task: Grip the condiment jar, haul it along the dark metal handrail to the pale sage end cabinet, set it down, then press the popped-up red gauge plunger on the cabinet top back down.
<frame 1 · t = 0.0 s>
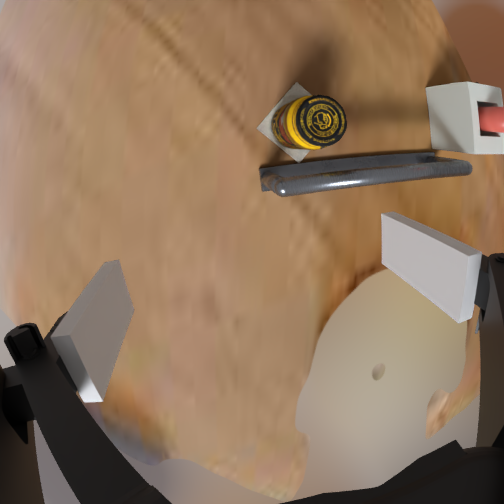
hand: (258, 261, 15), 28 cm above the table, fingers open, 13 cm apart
handrail: (357, 167, 43), on the table
cabinet: (446, 118, 42), on the table
condiment: (297, 122, 40), on the table
plunger: (491, 119, 32), point 10 cm above the table, slide at 0.0 cm
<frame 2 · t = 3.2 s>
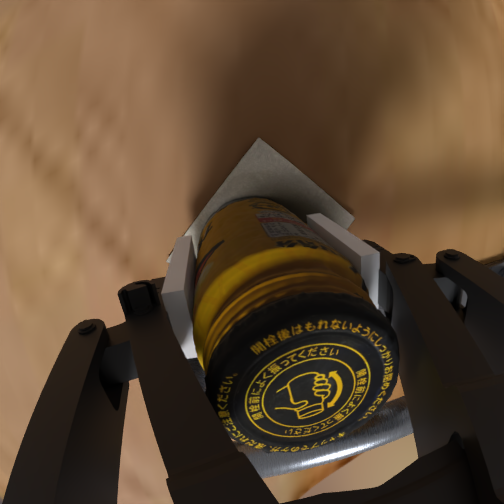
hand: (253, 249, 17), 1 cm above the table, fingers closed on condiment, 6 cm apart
handrail: (378, 314, 21), on the table
condiment: (261, 236, 19), on the table, touching gripper
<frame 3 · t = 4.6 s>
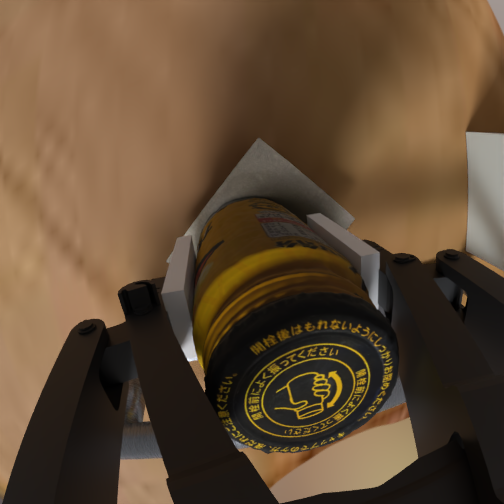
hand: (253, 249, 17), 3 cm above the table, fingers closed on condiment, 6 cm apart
handrail: (319, 312, 23), on the table
cabinet: (496, 189, 22), on the table
condiment: (261, 236, 19), point 2 cm above the table, touching gripper
when the fingers open (2 cm above the table, at t = 6.4 s): condiment stays where it is, on the table.
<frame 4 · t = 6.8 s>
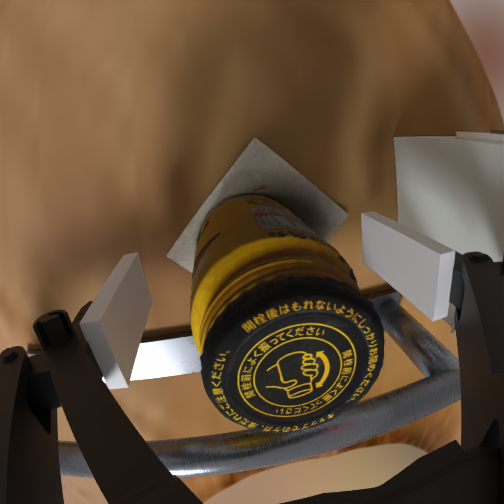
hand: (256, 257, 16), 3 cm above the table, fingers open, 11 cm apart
handrail: (204, 348, 21), on the table
cabinet: (441, 206, 20), on the table
condiment: (258, 232, 19), on the table
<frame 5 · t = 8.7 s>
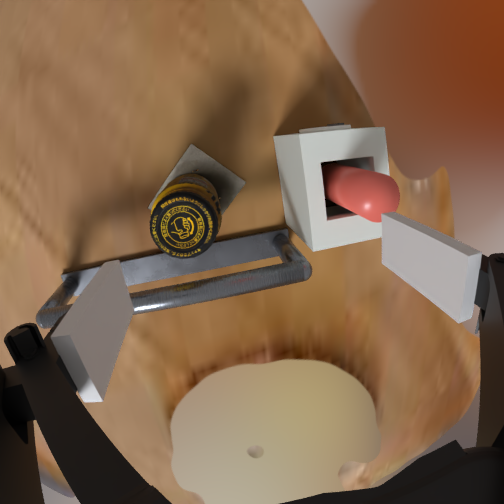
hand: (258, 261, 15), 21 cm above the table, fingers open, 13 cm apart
handrail: (169, 263, 37), on the table
cabinet: (313, 175, 36), on the table
condiment: (196, 194, 35), on the table
plunger: (353, 188, 26), point 11 cm above the table, slide at 0.0 cm
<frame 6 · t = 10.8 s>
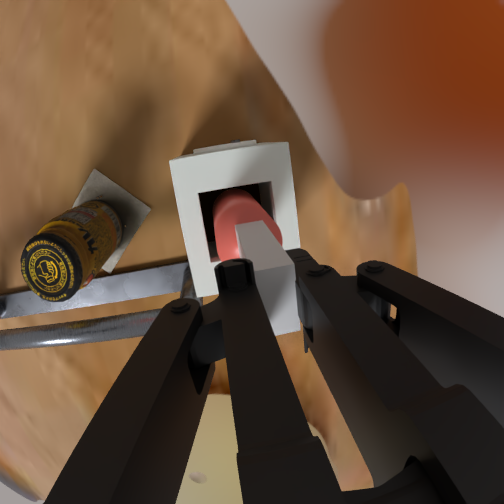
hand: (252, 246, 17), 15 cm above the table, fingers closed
handrail: (82, 292, 33), on the table
cabinet: (229, 198, 32), on the table
condiment: (102, 221, 31), on the table
plunger: (241, 224, 22), point 10 cm above the table, slide at 0.0 cm, touching gripper
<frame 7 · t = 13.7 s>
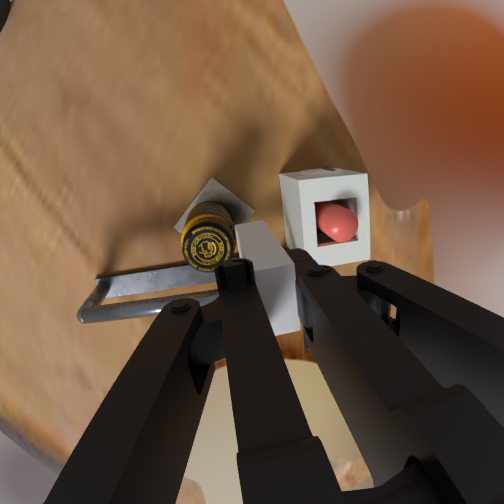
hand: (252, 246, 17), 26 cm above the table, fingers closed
handrail: (189, 274, 45), on the table
cabinet: (311, 206, 44), on the table
condiment: (213, 218, 43), on the table
plunger: (328, 216, 37), point 7 cm above the table, slide at -3.3 cm
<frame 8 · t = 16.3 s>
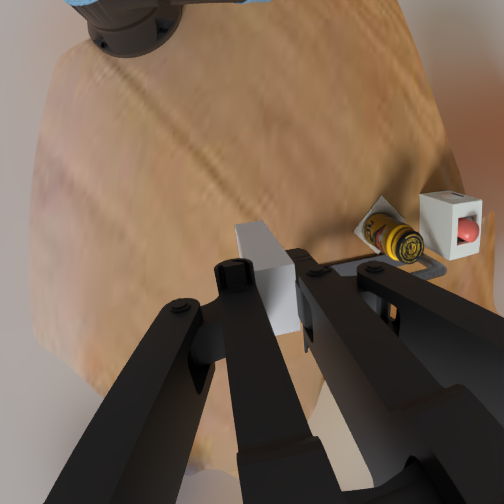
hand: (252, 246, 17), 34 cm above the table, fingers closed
handrail: (358, 266, 58), on the table
cabinet: (434, 216, 57), on the table
condiment: (379, 225, 56), on the table
plunger: (457, 225, 50), point 7 cm above the table, slide at -3.3 cm
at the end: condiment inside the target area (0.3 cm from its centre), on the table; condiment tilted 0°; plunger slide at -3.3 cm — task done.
